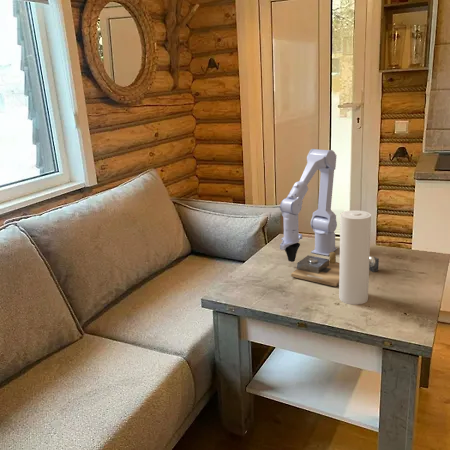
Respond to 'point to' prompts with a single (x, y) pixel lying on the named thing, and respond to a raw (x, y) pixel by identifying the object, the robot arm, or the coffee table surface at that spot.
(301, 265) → the cover
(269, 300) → the coffee table surface
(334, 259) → the wooden base with peg
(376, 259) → the dial indicator
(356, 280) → the cylinder container
